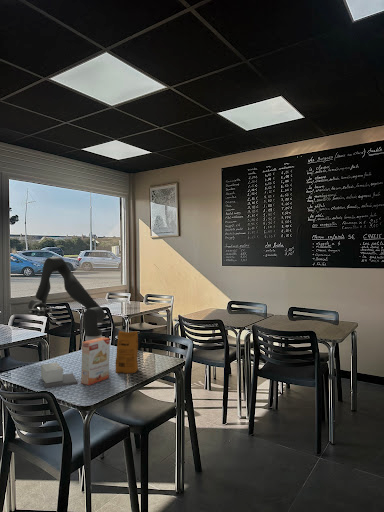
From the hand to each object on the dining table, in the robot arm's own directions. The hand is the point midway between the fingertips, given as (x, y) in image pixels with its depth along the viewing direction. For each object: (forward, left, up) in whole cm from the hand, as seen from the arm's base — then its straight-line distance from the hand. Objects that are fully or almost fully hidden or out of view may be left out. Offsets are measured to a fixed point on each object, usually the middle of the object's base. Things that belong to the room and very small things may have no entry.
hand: (42, 312), depth 203 cm
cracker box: (-23, +32, -32) cm, 51 cm away
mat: (-7, +25, -32) cm, 41 cm away
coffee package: (-42, +23, -32) cm, 58 cm away
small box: (-2, +15, -28) cm, 32 cm away
